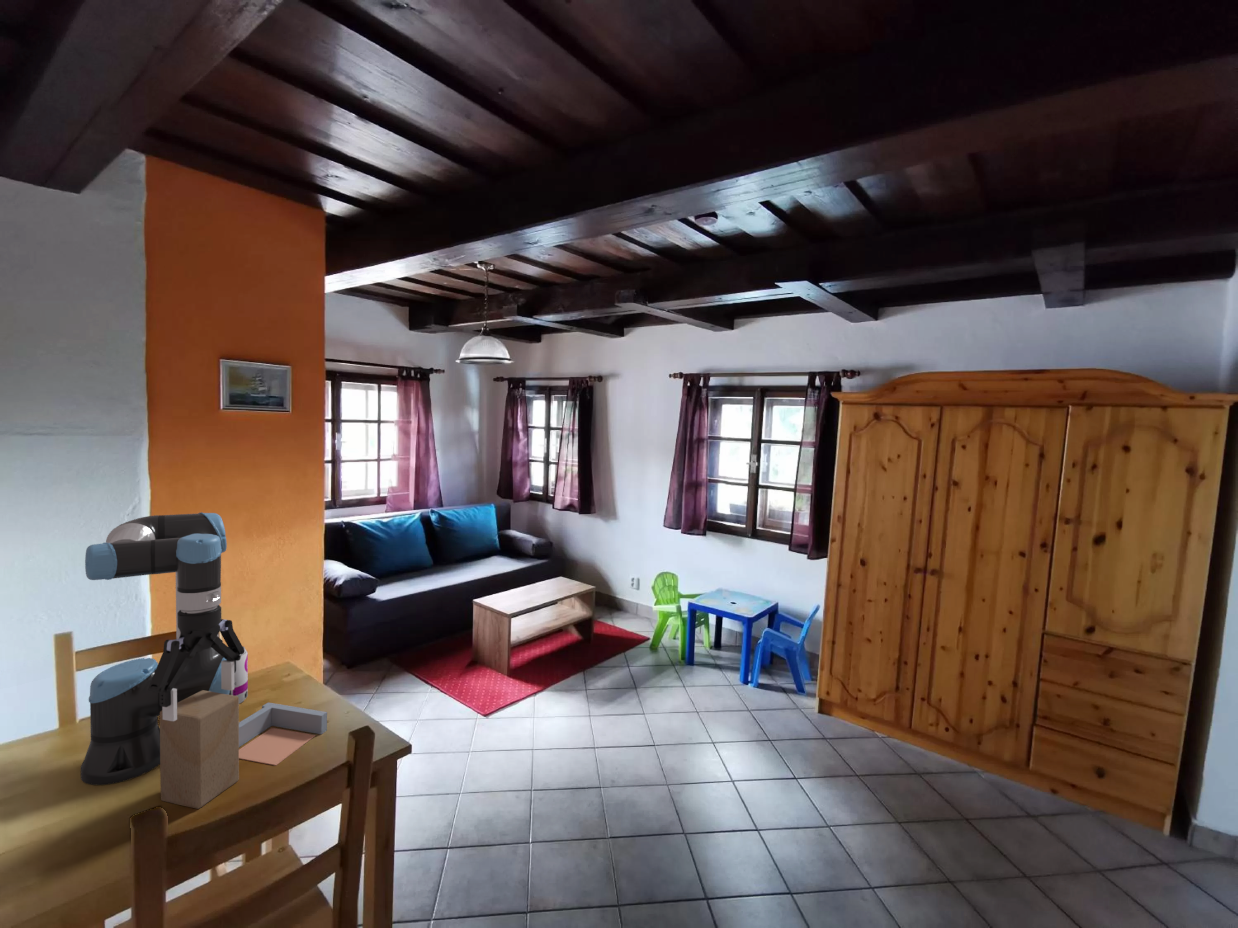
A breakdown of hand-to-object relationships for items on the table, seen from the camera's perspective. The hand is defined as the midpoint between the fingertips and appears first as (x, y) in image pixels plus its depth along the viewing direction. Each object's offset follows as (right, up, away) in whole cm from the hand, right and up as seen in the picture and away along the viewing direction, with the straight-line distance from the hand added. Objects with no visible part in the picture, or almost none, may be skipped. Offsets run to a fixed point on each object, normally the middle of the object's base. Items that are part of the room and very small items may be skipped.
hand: (200, 703), depth 121 cm
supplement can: (-21, -16, +39) cm, 47 cm away
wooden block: (-1, -20, +2) cm, 20 cm away
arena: (+3, -19, +20) cm, 27 cm away
